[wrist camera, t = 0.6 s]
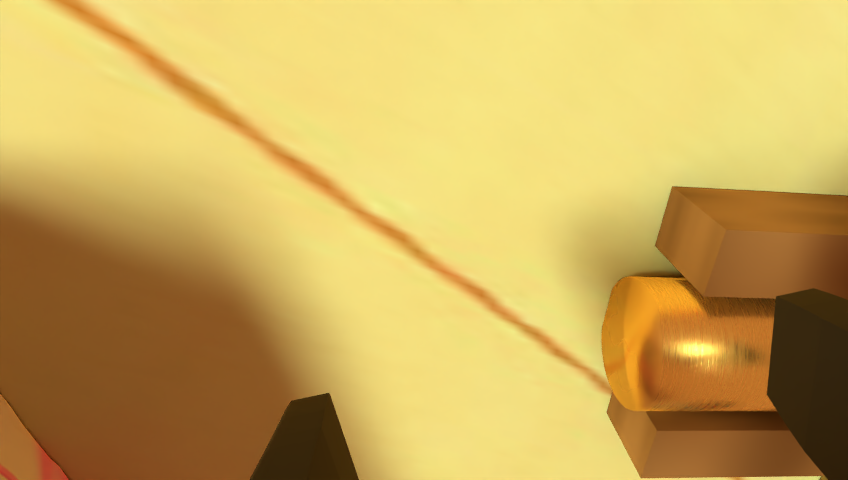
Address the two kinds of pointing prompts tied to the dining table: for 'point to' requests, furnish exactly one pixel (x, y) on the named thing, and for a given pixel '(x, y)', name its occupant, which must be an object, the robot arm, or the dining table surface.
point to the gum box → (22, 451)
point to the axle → (686, 347)
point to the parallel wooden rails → (743, 278)
